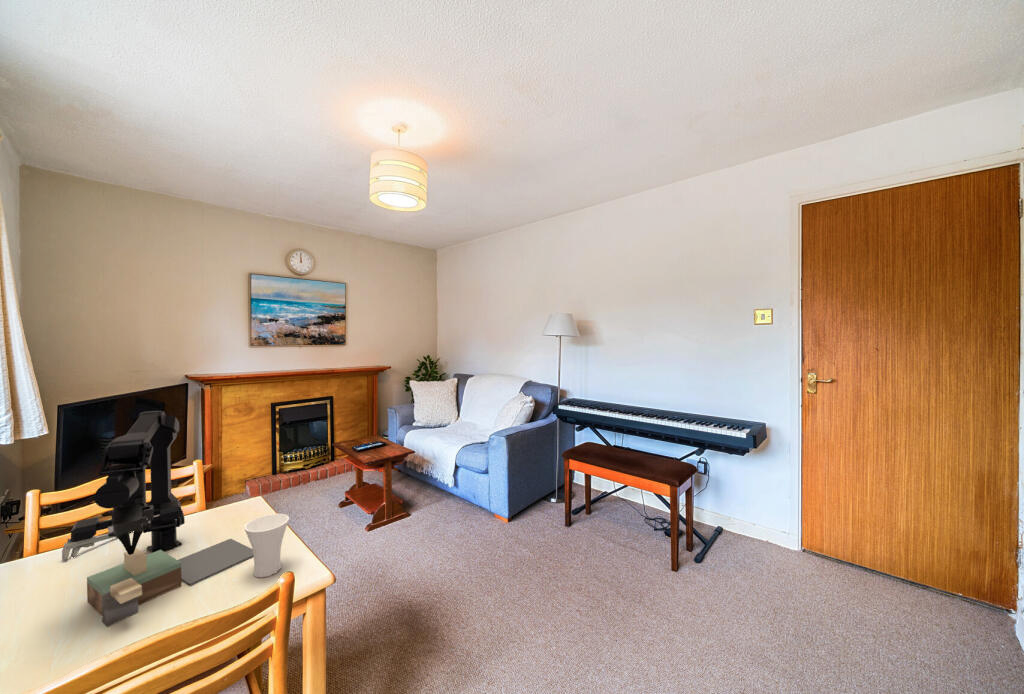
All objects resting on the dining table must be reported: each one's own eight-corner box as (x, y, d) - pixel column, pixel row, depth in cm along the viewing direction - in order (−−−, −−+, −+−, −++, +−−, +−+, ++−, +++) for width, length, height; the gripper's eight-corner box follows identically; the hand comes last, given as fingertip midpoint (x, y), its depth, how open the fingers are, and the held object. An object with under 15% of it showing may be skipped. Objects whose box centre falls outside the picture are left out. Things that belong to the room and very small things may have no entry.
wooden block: (110, 594, 88) (110, 586, 88) (131, 586, 91) (131, 577, 91) (120, 603, 85) (120, 594, 85) (142, 594, 88) (141, 585, 88)
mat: (162, 568, 108) (162, 565, 108) (230, 540, 123) (230, 538, 123) (189, 586, 101) (189, 584, 101) (259, 554, 116) (259, 552, 116)
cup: (240, 571, 107) (239, 522, 107) (282, 555, 115) (282, 510, 115) (250, 587, 100) (250, 535, 100) (295, 570, 108) (294, 521, 108)
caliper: (65, 563, 111) (64, 541, 111) (62, 562, 111) (61, 541, 111) (143, 528, 131) (143, 510, 131) (140, 528, 131) (140, 509, 131)
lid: (86, 582, 94) (86, 560, 94) (160, 554, 106) (160, 535, 106) (105, 598, 88) (105, 576, 88) (181, 566, 101) (180, 547, 100)
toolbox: (83, 603, 94) (83, 578, 94) (161, 572, 107) (160, 550, 106) (107, 626, 87) (106, 599, 86) (187, 589, 99) (186, 566, 99)
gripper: (64, 515, 82) (67, 586, 83) (181, 491, 95) (182, 554, 95) (74, 497, 90) (76, 562, 91) (179, 477, 103) (181, 535, 104)
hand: (131, 553), depth 95 cm, fingers closed
